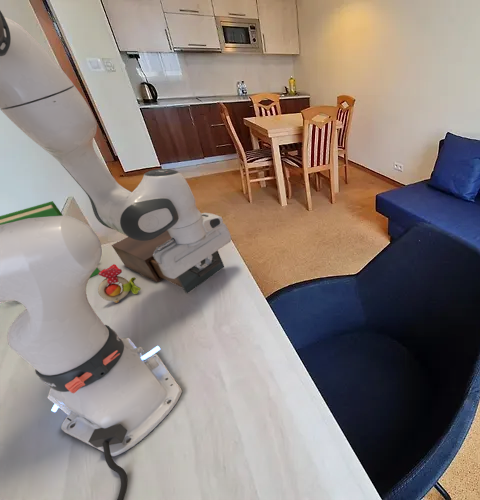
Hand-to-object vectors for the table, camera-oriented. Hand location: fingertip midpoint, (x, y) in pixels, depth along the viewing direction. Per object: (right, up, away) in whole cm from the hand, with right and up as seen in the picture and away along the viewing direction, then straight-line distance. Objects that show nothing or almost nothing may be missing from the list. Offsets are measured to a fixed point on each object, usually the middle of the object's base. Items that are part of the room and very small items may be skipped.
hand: (207, 270), depth 87 cm
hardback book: (-50, -4, +11) cm, 52 cm away
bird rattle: (-25, -8, +2) cm, 26 cm away
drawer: (-8, -1, +7) cm, 10 cm away
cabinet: (-23, +2, +16) cm, 28 cm away
